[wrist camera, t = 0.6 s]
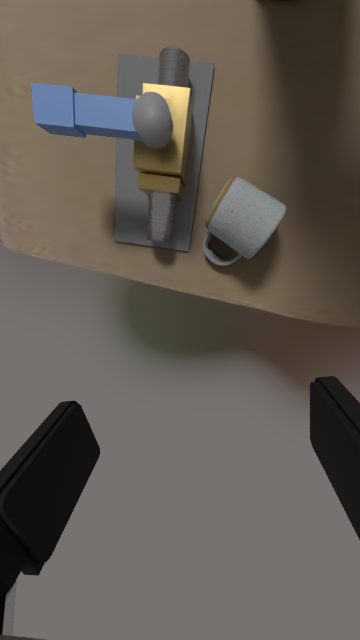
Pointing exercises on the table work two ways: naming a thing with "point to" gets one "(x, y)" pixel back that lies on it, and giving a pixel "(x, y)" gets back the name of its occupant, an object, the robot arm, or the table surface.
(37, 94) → the lever
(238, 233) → the ceramic mug
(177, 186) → the valve
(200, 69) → the mat
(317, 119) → the table surface
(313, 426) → the robot arm
